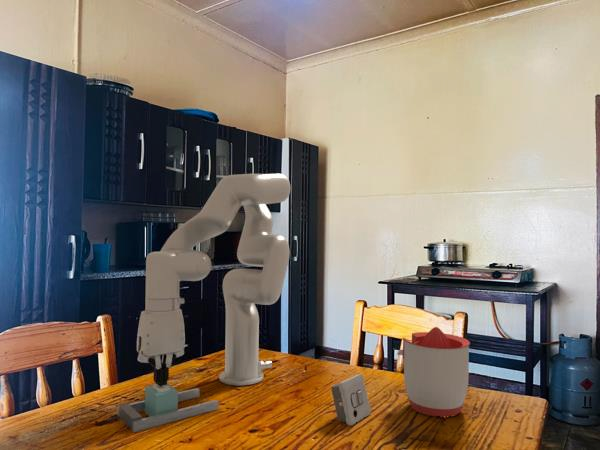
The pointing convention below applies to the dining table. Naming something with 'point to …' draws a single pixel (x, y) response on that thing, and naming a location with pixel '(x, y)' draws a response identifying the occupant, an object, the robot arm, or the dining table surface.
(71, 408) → the dining table surface
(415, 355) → the citrus juicer
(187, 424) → the dining table surface
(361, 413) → the electrical switch
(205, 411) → the rail channel
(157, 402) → the block
